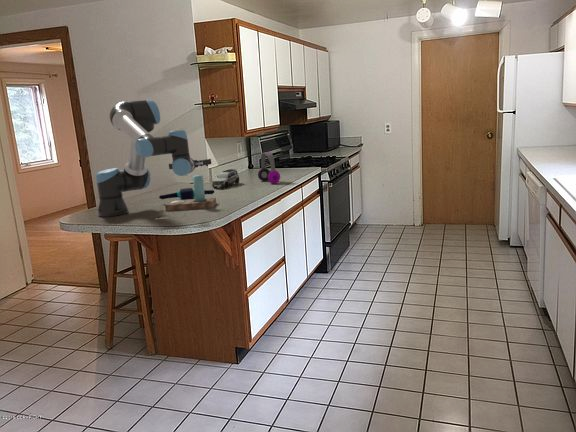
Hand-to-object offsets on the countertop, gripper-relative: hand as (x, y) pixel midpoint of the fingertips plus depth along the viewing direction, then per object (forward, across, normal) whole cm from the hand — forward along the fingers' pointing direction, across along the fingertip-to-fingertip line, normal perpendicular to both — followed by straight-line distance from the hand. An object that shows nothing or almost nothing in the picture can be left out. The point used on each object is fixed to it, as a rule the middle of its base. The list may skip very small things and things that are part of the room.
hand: (192, 163), depth 248 cm
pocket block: (+10, -5, -24) cm, 26 cm away
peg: (+10, 0, -23) cm, 25 cm away
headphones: (+82, +37, -22) cm, 92 cm away
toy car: (+80, +8, -21) cm, 83 cm away
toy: (+38, -11, -22) cm, 46 cm away
